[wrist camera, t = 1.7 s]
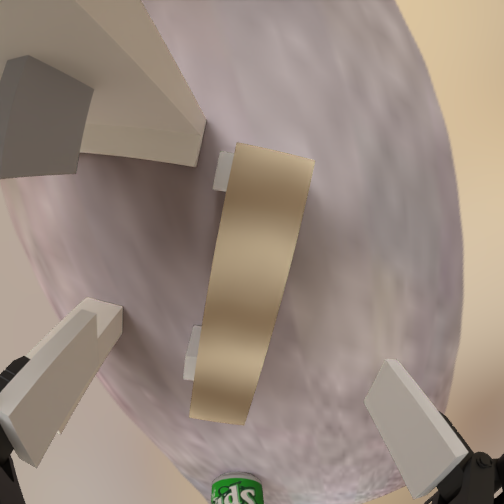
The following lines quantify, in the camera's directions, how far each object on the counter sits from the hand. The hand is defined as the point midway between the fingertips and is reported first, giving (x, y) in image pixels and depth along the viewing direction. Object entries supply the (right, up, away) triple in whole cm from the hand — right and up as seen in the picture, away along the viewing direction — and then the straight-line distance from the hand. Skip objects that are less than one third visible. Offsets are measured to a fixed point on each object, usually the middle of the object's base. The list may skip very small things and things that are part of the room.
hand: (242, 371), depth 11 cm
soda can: (-2, -30, +22) cm, 37 cm away
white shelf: (-12, +7, +12) cm, 18 cm away
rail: (0, +2, +8) cm, 9 cm away
